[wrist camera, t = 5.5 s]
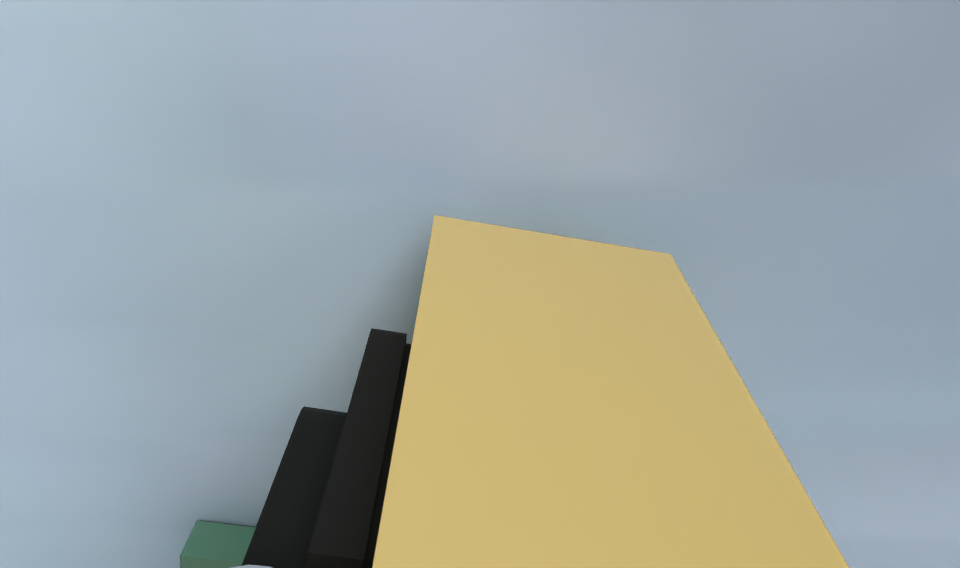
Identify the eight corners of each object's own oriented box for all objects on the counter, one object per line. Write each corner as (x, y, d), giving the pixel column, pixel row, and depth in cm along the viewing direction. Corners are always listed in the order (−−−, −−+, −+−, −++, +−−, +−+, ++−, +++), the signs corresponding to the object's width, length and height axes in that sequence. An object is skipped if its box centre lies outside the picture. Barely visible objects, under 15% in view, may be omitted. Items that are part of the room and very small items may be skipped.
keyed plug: (434, 215, 11) (335, 783, 4) (670, 254, 11) (1008, 847, 4) (393, 479, 13) (293, 1086, 6) (581, 504, 14) (682, 1108, 7)
